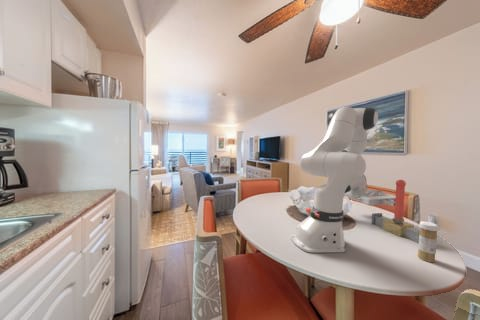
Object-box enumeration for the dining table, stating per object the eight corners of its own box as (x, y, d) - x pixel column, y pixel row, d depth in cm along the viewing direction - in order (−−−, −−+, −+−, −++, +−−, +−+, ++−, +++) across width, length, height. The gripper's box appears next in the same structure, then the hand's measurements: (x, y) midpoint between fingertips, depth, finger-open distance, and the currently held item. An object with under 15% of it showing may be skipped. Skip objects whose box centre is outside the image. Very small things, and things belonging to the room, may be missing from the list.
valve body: (418, 244, 75) (419, 232, 74) (369, 223, 96) (370, 213, 96) (432, 243, 76) (433, 230, 76) (381, 222, 98) (382, 212, 98)
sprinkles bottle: (428, 256, 67) (431, 221, 66) (439, 263, 62) (442, 226, 62) (414, 254, 68) (416, 220, 67) (423, 261, 63) (426, 225, 63)
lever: (398, 223, 84) (401, 180, 83) (390, 220, 87) (393, 179, 86) (405, 222, 85) (408, 180, 84) (397, 219, 88) (400, 179, 87)
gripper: (354, 192, 98) (378, 199, 85) (383, 190, 103) (411, 197, 89) (353, 203, 99) (378, 212, 85) (383, 201, 103) (410, 209, 90)
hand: (395, 204), depth 87 cm, fingers closed
